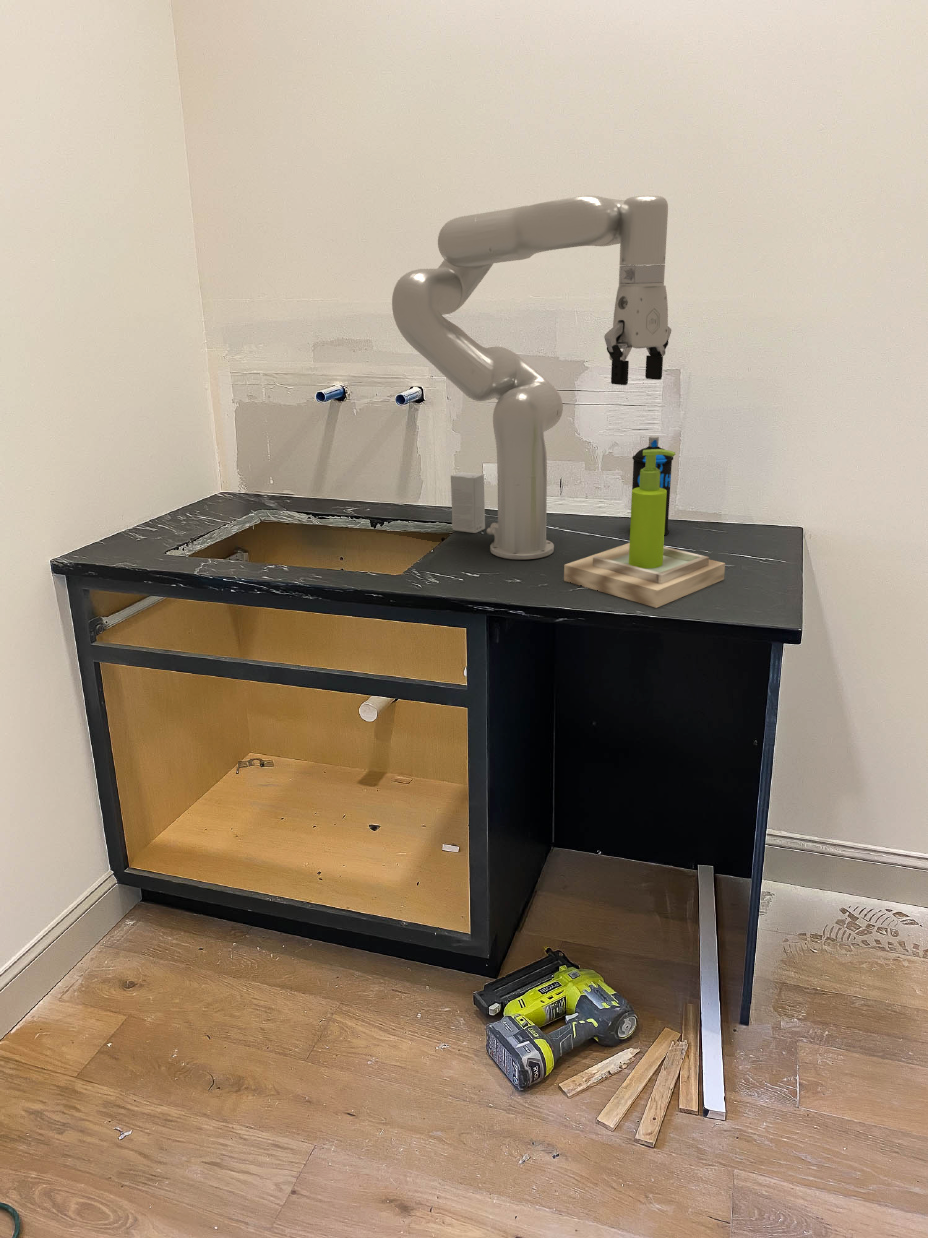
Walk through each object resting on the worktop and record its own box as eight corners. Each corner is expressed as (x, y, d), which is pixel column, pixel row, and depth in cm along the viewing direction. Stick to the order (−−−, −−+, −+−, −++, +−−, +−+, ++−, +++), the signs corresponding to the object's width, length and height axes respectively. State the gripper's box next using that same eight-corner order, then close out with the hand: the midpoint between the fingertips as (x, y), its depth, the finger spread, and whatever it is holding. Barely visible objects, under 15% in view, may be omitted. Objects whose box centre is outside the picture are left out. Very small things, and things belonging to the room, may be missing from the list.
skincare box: (485, 529, 194) (485, 474, 190) (475, 533, 191) (474, 478, 186) (462, 525, 197) (460, 471, 193) (451, 530, 194) (449, 475, 189)
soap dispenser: (668, 569, 155) (675, 453, 148) (628, 567, 157) (633, 453, 149) (668, 559, 161) (675, 447, 154) (629, 557, 162) (633, 446, 155)
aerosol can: (624, 527, 193) (628, 433, 185) (662, 526, 193) (667, 432, 186) (634, 538, 185) (639, 440, 178) (673, 536, 185) (680, 439, 178)
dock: (563, 580, 161) (564, 556, 159) (632, 556, 173) (633, 533, 172) (656, 607, 147) (658, 581, 145) (723, 579, 160) (726, 555, 158)
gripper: (627, 277, 143) (623, 388, 149) (690, 275, 154) (683, 378, 160) (591, 278, 148) (588, 384, 155) (654, 276, 159) (648, 375, 166)
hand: (636, 381), depth 158 cm, fingers open, 9 cm apart
